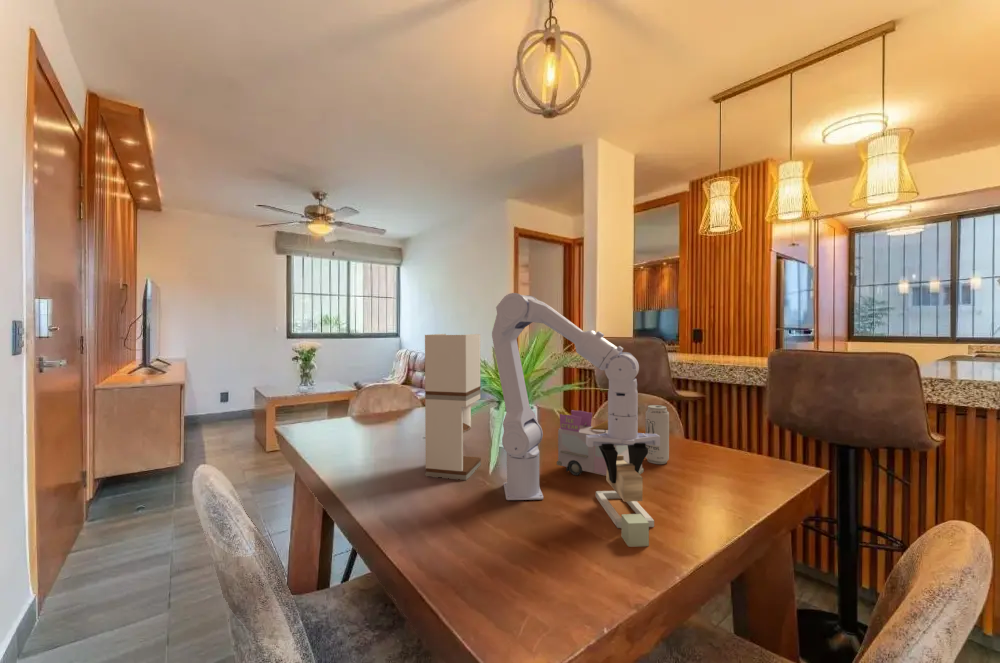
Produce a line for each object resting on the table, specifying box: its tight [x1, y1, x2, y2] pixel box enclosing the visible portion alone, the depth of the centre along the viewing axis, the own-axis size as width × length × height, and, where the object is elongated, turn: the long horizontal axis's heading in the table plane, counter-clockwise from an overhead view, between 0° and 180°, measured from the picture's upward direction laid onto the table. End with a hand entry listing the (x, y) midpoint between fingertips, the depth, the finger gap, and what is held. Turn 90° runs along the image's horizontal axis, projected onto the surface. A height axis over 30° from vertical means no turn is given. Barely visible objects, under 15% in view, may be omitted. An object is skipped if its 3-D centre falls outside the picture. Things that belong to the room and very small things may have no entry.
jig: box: [595, 490, 655, 529], centre depth 86 cm, size 14×7×1 cm, turn 3°
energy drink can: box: [645, 404, 670, 465], centre depth 117 cm, size 6×6×15 cm
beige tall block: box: [424, 333, 482, 481], centre depth 110 cm, size 11×11×35 cm
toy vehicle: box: [556, 409, 645, 477], centre depth 106 cm, size 9×20×15 cm, turn 53°
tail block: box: [620, 513, 650, 548], centre depth 74 cm, size 4×4×4 cm
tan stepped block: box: [605, 455, 644, 503], centre depth 86 cm, size 11×4×5 cm, turn 3°
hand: (622, 481), depth 86 cm, fingers closed on tan stepped block, 3 cm apart
